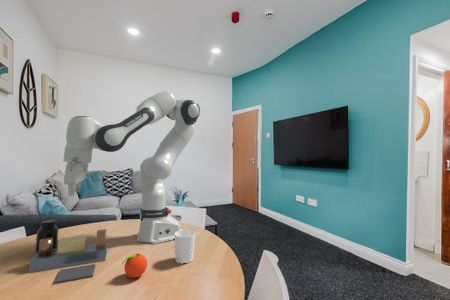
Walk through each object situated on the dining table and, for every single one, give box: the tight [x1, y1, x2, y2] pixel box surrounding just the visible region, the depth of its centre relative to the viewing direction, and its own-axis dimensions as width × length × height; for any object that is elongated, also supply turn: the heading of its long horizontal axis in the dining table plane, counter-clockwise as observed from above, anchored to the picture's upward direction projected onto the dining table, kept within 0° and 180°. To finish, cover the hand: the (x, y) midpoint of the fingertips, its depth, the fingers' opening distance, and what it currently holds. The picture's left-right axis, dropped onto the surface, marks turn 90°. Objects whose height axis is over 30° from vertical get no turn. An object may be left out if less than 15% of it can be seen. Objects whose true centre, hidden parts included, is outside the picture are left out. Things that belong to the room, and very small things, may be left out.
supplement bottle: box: [34, 219, 59, 254], centre depth 87 cm, size 7×7×12 cm
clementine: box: [120, 253, 148, 279], centre depth 70 cm, size 8×7×7 cm
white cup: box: [174, 229, 196, 265], centre depth 82 cm, size 8×8×10 cm
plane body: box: [29, 228, 108, 273], centre depth 79 cm, size 22×8×10 cm, turn 116°
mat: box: [53, 263, 96, 285], centre depth 71 cm, size 10×8×1 cm
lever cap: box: [57, 235, 88, 255], centre depth 79 cm, size 8×5×4 cm, turn 116°
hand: (74, 194), depth 81 cm, fingers open, 8 cm apart
